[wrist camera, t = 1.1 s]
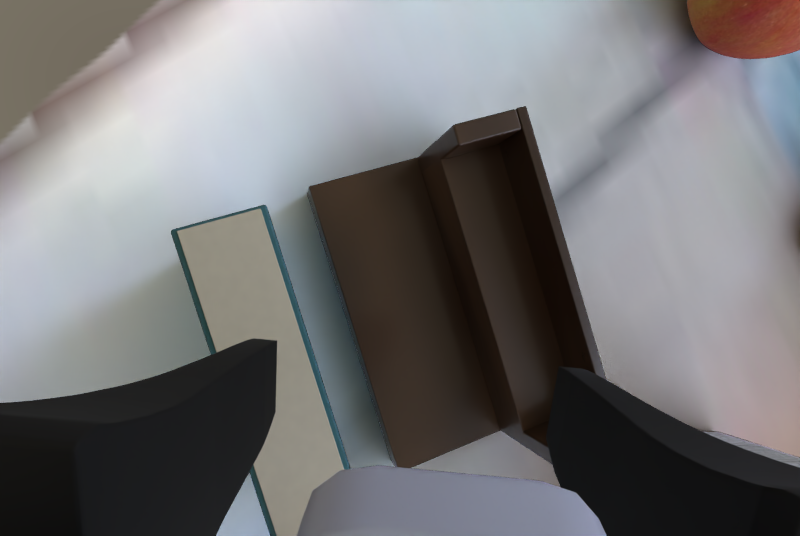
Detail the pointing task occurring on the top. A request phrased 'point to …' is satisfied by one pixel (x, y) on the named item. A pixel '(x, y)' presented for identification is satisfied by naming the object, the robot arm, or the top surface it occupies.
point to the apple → (747, 26)
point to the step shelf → (457, 289)
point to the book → (296, 365)
